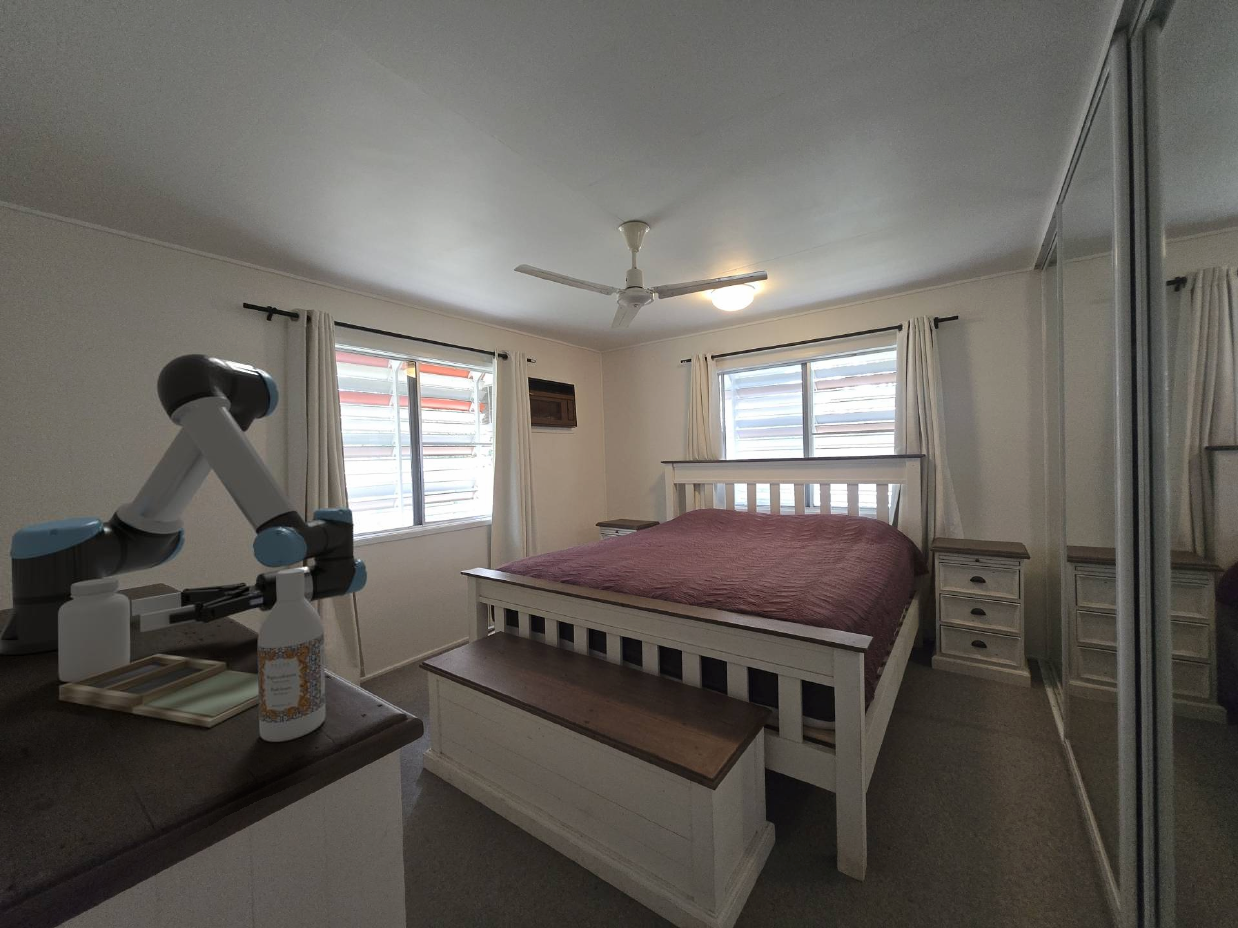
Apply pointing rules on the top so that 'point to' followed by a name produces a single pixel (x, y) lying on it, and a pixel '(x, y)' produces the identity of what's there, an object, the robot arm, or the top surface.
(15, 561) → the robot arm
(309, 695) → the bath foam
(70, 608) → the pill bottle
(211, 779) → the top surface
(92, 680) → the tray
